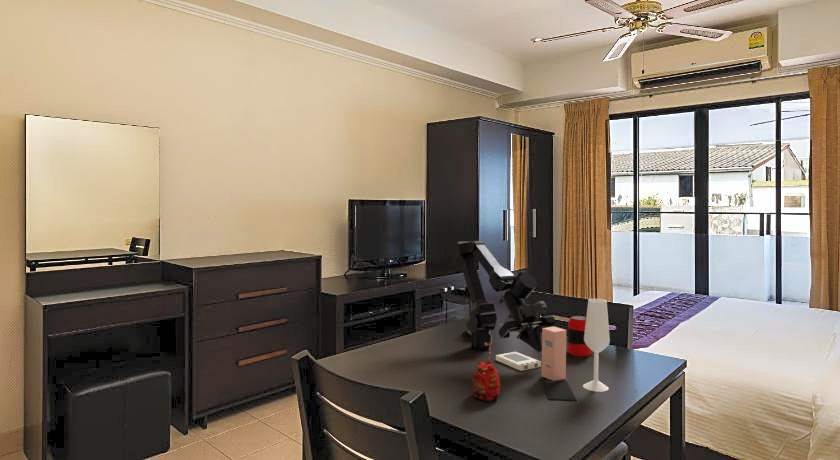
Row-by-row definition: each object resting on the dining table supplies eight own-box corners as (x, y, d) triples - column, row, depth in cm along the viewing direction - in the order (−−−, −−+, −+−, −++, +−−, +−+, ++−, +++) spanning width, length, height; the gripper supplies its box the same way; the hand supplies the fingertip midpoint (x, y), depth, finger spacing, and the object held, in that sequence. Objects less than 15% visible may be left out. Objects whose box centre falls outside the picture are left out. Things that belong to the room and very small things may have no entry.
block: (541, 376, 149) (542, 328, 148) (553, 373, 151) (554, 326, 150) (553, 381, 145) (554, 332, 144) (565, 378, 147) (566, 330, 146)
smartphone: (578, 403, 131) (566, 382, 146) (578, 399, 131) (566, 379, 146) (548, 402, 132) (539, 381, 146) (548, 398, 131) (539, 378, 146)
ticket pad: (495, 360, 165) (495, 354, 165) (515, 356, 169) (515, 351, 169) (520, 370, 154) (520, 365, 154) (541, 366, 158) (541, 361, 158)
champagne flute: (592, 392, 137) (594, 303, 135) (577, 384, 143) (579, 298, 142) (614, 390, 139) (616, 302, 137) (598, 381, 145) (600, 297, 144)
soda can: (586, 358, 167) (587, 321, 167) (564, 354, 172) (564, 318, 171) (594, 352, 173) (595, 317, 173) (572, 348, 178) (573, 314, 177)
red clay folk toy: (466, 396, 134) (466, 339, 133) (483, 389, 139) (483, 335, 138) (489, 405, 128) (490, 345, 128) (506, 397, 133) (507, 340, 133)
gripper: (505, 295, 151) (529, 341, 143) (552, 290, 160) (578, 333, 152) (488, 315, 159) (510, 361, 150) (535, 309, 168) (558, 352, 159)
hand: (540, 351), depth 152 cm, fingers closed
